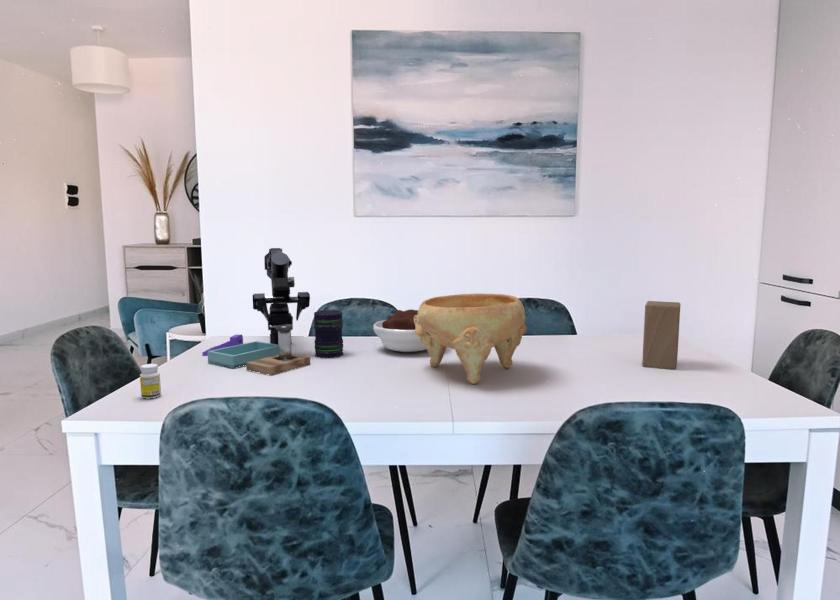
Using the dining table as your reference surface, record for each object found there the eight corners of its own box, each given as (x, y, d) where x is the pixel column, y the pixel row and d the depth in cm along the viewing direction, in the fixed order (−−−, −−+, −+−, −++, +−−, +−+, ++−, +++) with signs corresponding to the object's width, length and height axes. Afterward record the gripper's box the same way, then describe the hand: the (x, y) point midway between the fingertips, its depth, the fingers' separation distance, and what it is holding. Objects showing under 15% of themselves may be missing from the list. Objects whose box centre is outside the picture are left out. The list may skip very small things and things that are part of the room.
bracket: (243, 352, 204) (242, 333, 203) (236, 357, 197) (235, 337, 196) (210, 352, 204) (209, 333, 203) (202, 356, 198) (201, 337, 197)
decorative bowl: (462, 353, 200) (463, 288, 197) (548, 371, 176) (550, 297, 173) (389, 370, 177) (389, 297, 174) (476, 394, 152) (477, 308, 149)
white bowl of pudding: (361, 354, 199) (361, 311, 197) (389, 341, 222) (389, 302, 220) (429, 360, 190) (429, 315, 188) (451, 345, 214) (451, 305, 212)
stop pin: (286, 362, 187) (284, 323, 185) (297, 365, 184) (296, 325, 182) (273, 366, 183) (272, 326, 181) (285, 368, 180) (283, 327, 178)
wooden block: (677, 363, 186) (680, 302, 183) (676, 370, 177) (680, 306, 174) (644, 360, 190) (647, 300, 187) (642, 367, 181) (645, 304, 178)
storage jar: (309, 356, 196) (307, 313, 194) (324, 351, 205) (323, 309, 203) (334, 359, 192) (333, 315, 190) (348, 353, 201) (347, 311, 199)
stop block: (286, 360, 191) (286, 352, 191) (310, 364, 185) (310, 356, 184) (246, 370, 177) (246, 362, 177) (270, 375, 171) (270, 367, 171)
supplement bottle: (145, 394, 153) (143, 363, 152) (163, 393, 153) (162, 363, 152) (138, 399, 148) (136, 367, 147) (157, 399, 148) (155, 367, 147)
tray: (256, 352, 203) (256, 341, 203) (282, 356, 196) (281, 345, 195) (208, 363, 187) (207, 351, 186) (233, 368, 179) (233, 356, 179)
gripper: (251, 269, 189) (252, 307, 180) (308, 268, 194) (312, 304, 185) (252, 290, 197) (253, 327, 188) (307, 288, 203) (311, 324, 194)
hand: (282, 320), depth 189 cm, fingers open, 9 cm apart
